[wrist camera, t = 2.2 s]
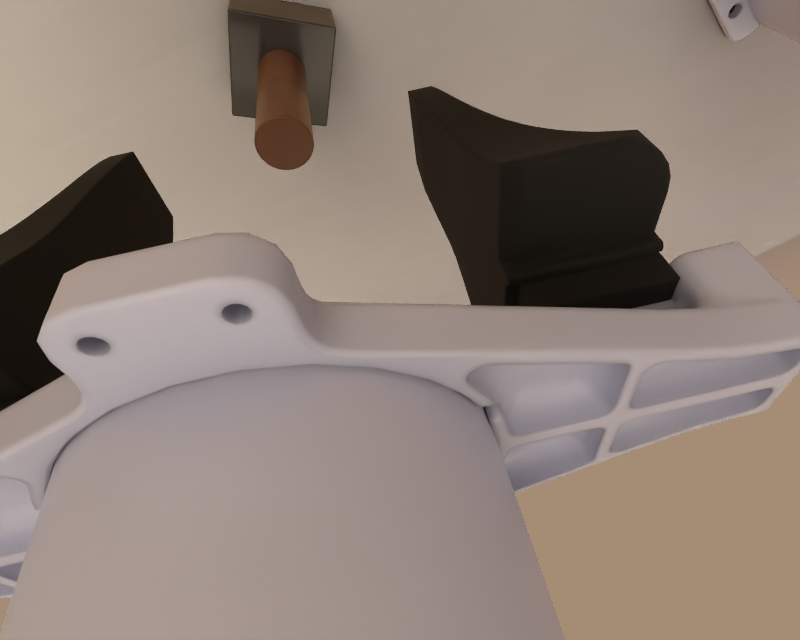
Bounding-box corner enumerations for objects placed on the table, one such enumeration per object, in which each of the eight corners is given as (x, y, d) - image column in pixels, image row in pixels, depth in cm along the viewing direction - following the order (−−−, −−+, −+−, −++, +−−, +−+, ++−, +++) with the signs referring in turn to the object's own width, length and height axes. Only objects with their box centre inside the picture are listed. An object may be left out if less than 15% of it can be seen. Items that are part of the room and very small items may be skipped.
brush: (331, 9, 17) (353, 90, 13) (323, 103, 20) (338, 201, 15) (230, -10, 16) (214, 71, 12) (235, 92, 19) (223, 192, 14)
